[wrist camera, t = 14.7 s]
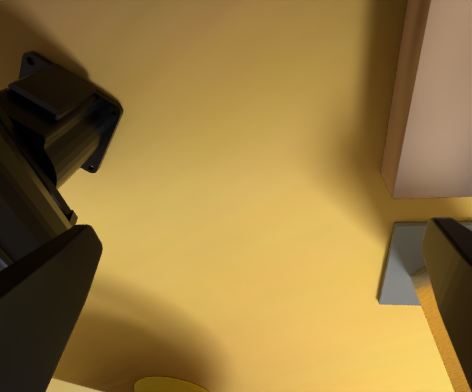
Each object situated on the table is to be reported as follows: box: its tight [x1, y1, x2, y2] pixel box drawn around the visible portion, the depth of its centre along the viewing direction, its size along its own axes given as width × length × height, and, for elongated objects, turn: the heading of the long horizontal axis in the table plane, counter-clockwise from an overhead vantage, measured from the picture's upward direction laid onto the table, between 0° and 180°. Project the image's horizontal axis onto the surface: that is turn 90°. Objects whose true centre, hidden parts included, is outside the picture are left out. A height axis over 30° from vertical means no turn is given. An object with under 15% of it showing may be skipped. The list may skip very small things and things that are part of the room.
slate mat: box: [378, 221, 472, 305], centre depth 25 cm, size 10×10×1 cm
